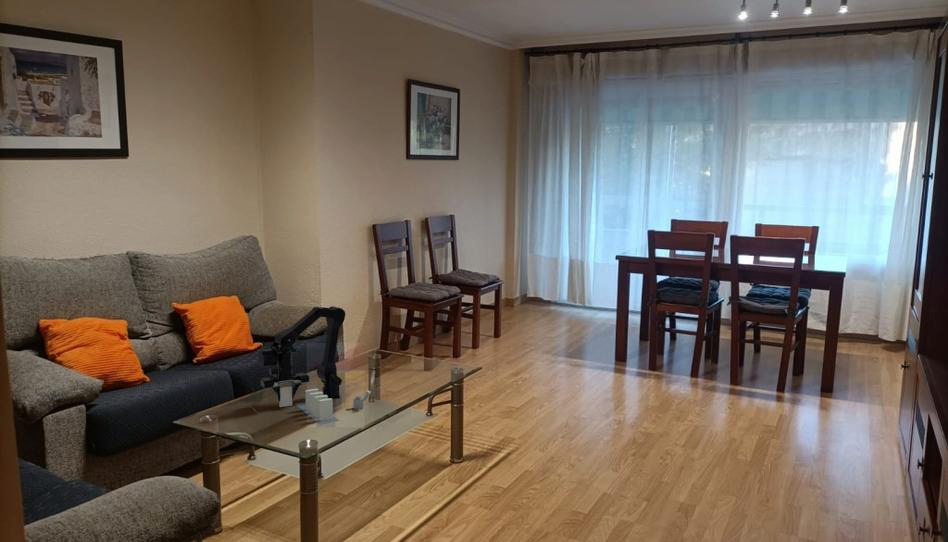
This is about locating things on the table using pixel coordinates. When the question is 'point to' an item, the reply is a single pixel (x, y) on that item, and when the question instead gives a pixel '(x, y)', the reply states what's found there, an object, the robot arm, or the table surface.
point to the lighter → (360, 401)
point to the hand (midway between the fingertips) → (285, 400)
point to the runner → (303, 407)
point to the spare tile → (285, 396)
